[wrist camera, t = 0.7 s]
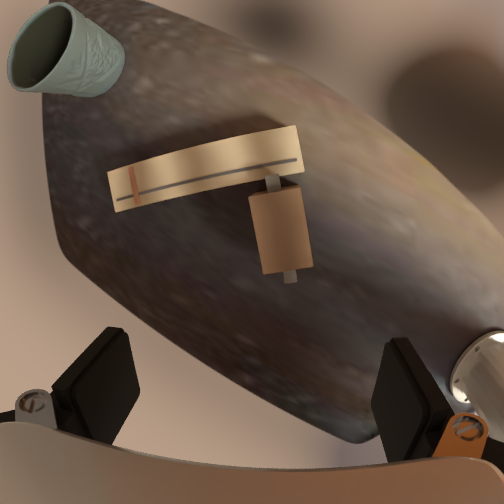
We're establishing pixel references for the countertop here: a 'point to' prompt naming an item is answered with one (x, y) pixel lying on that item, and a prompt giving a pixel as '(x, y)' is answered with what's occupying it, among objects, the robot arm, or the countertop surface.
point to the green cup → (64, 54)
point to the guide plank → (207, 167)
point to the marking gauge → (281, 229)
